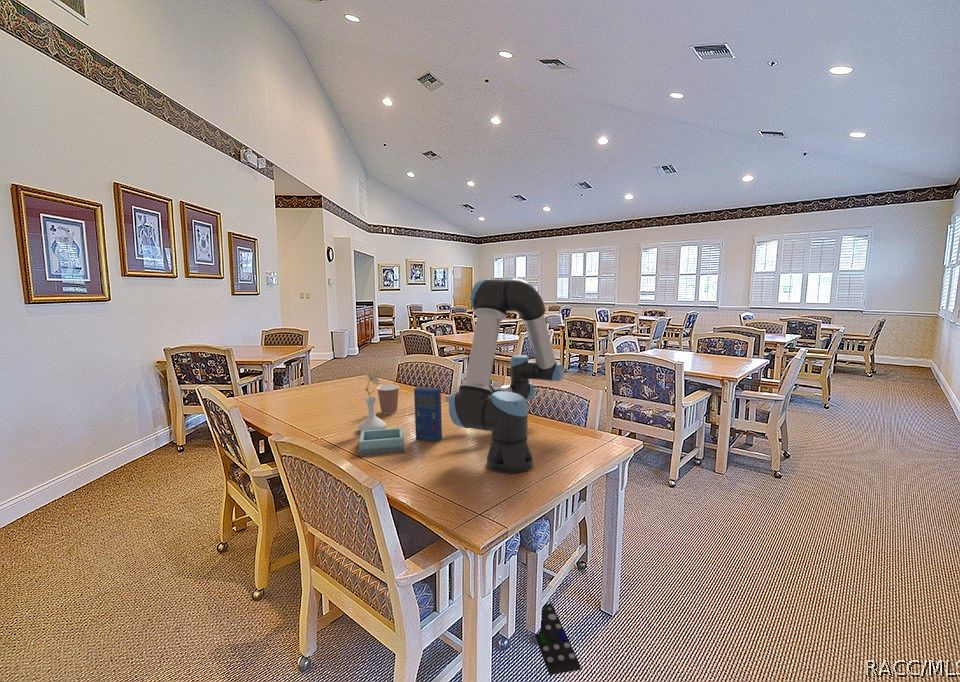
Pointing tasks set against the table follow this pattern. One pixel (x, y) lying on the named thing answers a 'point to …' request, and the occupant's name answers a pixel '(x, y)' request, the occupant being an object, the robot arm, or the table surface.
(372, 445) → the charging dock
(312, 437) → the table surface
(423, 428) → the electronic device
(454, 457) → the table surface
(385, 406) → the coffee cup
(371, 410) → the flower in vase
